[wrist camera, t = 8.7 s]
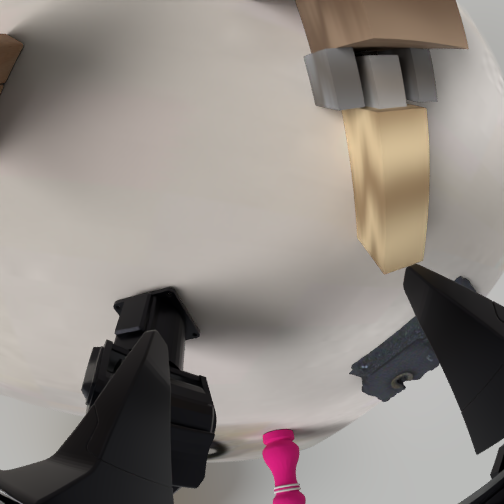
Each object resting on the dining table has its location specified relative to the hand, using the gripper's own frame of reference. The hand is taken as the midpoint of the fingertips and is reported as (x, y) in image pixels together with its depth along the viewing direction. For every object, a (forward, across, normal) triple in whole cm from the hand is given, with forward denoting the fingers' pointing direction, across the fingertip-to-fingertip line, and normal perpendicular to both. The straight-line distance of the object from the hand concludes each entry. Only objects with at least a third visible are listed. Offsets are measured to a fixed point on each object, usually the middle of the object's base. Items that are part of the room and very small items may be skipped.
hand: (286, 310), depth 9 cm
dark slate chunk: (+12, -20, +27) cm, 36 cm away
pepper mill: (+13, +5, +50) cm, 52 cm away
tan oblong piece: (+12, -9, -1) cm, 15 cm away
